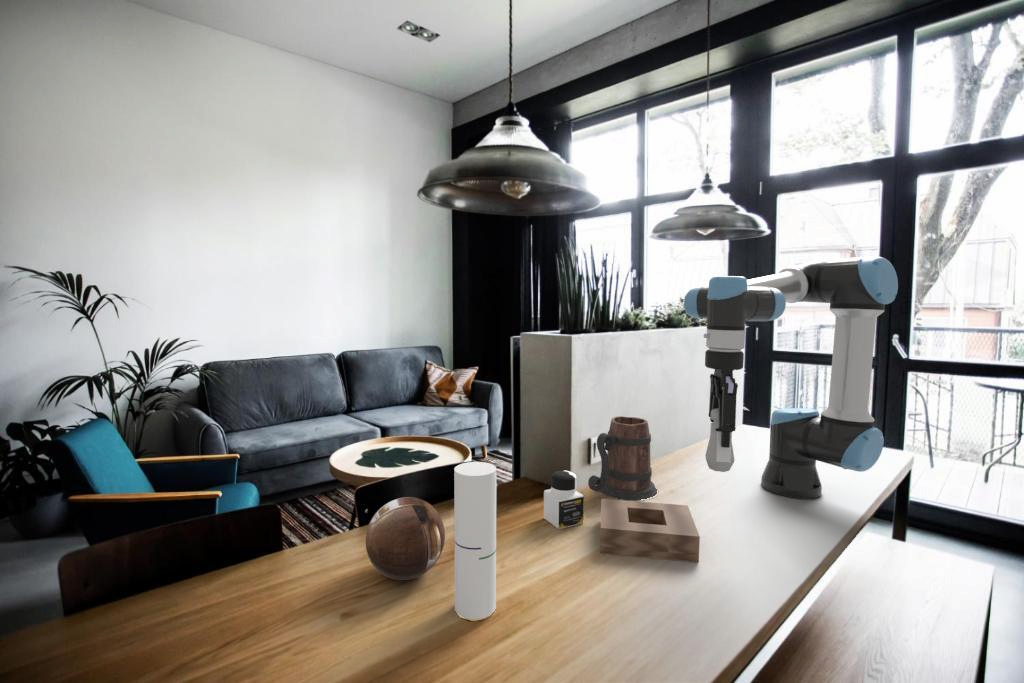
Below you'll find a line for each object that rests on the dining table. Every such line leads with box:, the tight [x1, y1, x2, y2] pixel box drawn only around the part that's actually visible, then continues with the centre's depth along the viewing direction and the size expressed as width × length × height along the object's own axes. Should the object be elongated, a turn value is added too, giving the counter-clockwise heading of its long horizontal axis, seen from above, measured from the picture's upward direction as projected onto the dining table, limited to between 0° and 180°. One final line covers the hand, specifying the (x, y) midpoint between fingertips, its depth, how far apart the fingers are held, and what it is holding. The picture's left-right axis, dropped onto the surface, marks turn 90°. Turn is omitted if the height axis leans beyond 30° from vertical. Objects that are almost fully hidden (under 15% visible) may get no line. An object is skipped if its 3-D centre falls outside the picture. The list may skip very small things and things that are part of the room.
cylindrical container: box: [453, 461, 497, 620], centre depth 87 cm, size 7×7×25 cm
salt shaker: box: [705, 408, 735, 473], centre depth 109 cm, size 6×6×13 cm
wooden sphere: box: [365, 496, 446, 581], centre depth 99 cm, size 15×15×15 cm
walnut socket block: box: [599, 498, 701, 563], centre depth 114 cm, size 20×16×6 cm
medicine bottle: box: [543, 469, 585, 530], centre depth 123 cm, size 7×7×12 cm
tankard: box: [587, 415, 658, 501], centre depth 142 cm, size 24×17×20 cm
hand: (719, 456), depth 109 cm, fingers closed on salt shaker, 6 cm apart
